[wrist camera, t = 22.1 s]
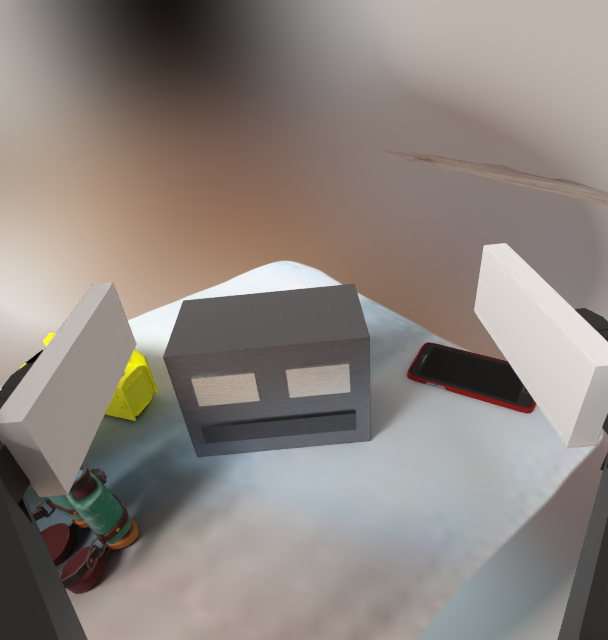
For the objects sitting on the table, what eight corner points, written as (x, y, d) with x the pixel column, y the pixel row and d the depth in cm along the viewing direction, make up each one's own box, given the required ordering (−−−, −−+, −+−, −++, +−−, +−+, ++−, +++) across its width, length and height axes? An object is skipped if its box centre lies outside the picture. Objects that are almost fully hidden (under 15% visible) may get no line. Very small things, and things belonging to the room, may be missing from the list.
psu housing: (196, 459, 48) (162, 358, 40) (209, 393, 57) (183, 300, 49) (370, 442, 48) (370, 338, 40) (357, 379, 57) (354, 283, 49)
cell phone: (531, 417, 49) (533, 411, 49) (404, 380, 56) (405, 374, 56) (541, 375, 55) (543, 369, 54) (424, 346, 62) (425, 340, 61)
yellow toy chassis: (162, 395, 58) (143, 343, 53) (135, 427, 53) (112, 374, 49) (66, 377, 63) (42, 328, 58) (35, 405, 58) (5, 355, 54)
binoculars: (-66, 522, 33) (48, 423, 40) (12, 580, 40) (99, 487, 46) (-3, 581, 29) (114, 460, 35) (72, 634, 36) (160, 524, 42)
